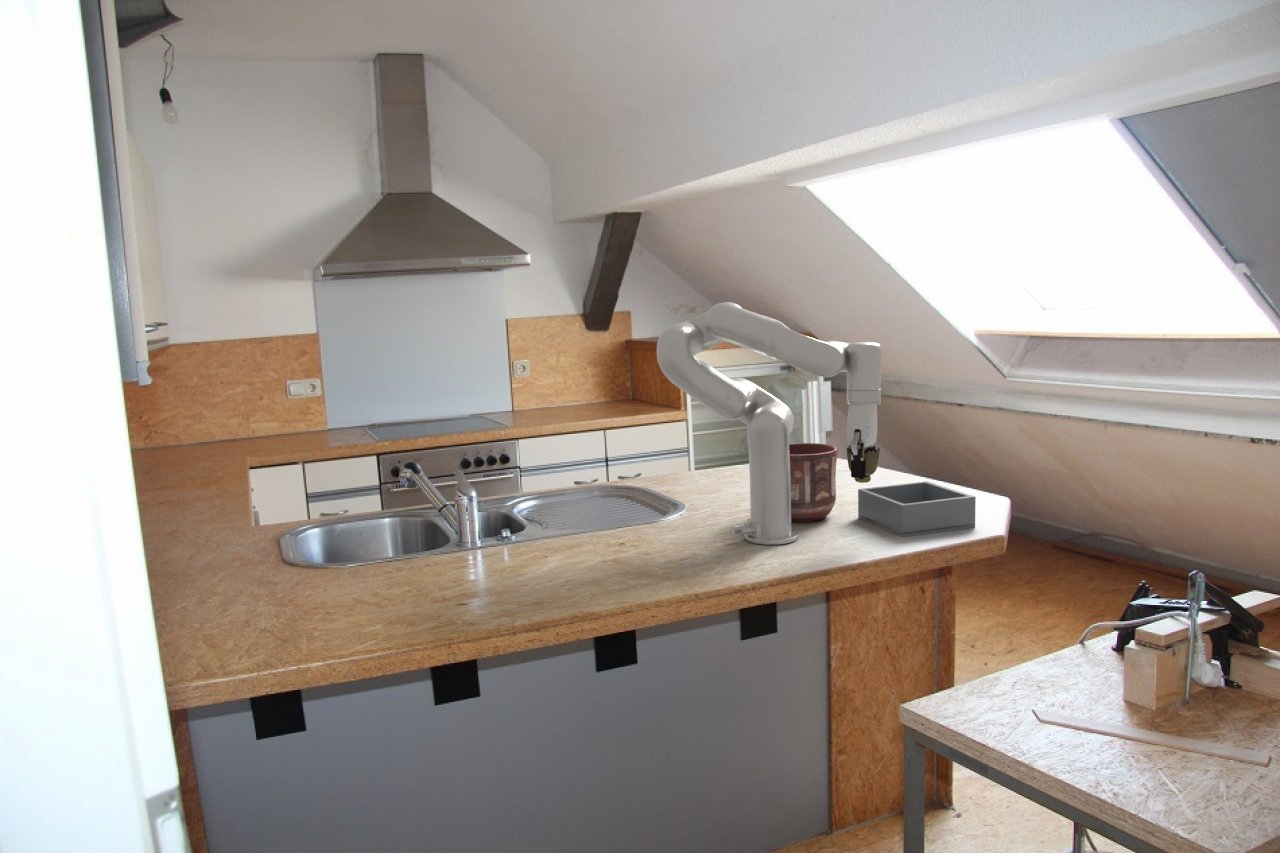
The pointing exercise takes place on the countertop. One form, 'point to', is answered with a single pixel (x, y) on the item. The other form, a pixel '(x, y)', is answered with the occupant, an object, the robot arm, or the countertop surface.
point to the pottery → (812, 481)
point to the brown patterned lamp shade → (870, 459)
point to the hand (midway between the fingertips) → (862, 473)
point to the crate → (916, 508)
